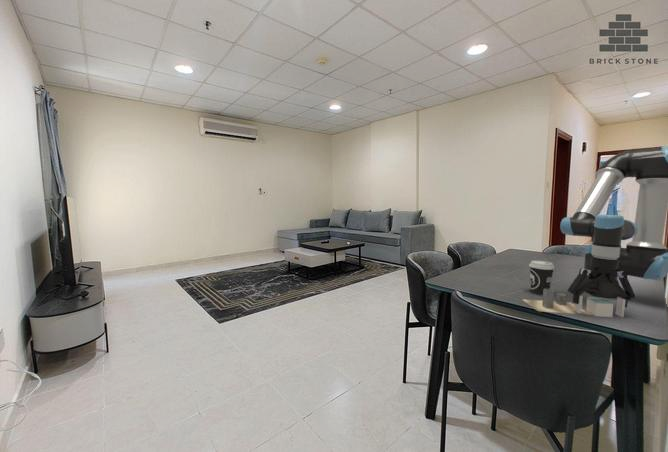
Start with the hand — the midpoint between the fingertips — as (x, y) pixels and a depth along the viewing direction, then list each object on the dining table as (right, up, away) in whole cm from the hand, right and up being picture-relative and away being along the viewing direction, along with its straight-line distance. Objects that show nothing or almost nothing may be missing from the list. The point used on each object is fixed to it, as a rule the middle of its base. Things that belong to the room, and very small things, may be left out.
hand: (598, 313), depth 107 cm
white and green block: (0, -1, 0) cm, 1 cm away
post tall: (-14, +1, +7) cm, 15 cm away
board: (-11, 0, +7) cm, 13 cm away
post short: (-6, +1, +10) cm, 12 cm away
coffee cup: (-4, +1, +24) cm, 25 cm away
